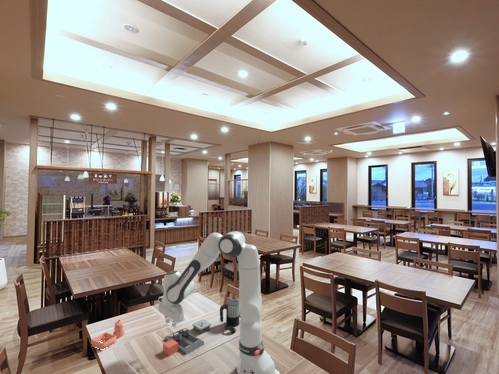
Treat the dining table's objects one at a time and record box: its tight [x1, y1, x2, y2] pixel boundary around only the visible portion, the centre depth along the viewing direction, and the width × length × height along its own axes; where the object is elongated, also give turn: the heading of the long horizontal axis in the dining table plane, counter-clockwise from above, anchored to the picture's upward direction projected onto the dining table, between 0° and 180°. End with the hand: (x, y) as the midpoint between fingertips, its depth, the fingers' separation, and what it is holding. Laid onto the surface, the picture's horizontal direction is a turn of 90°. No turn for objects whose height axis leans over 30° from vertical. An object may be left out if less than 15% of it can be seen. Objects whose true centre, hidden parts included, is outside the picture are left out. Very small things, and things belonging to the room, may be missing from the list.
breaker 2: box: [181, 327, 190, 336], centre depth 160 cm, size 3×3×3 cm
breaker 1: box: [172, 331, 180, 341], centre depth 155 cm, size 3×3×3 cm
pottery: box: [90, 319, 126, 349], centre depth 155 cm, size 18×10×10 cm, turn 156°
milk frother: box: [219, 299, 240, 333], centre depth 173 cm, size 14×16×15 cm
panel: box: [163, 328, 205, 355], centre depth 155 cm, size 22×13×2 cm, turn 50°
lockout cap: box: [162, 339, 179, 357], centre depth 145 cm, size 6×6×5 cm
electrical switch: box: [191, 319, 212, 335], centre depth 169 cm, size 9×5×9 cm
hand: (170, 324), depth 146 cm, fingers open, 5 cm apart
